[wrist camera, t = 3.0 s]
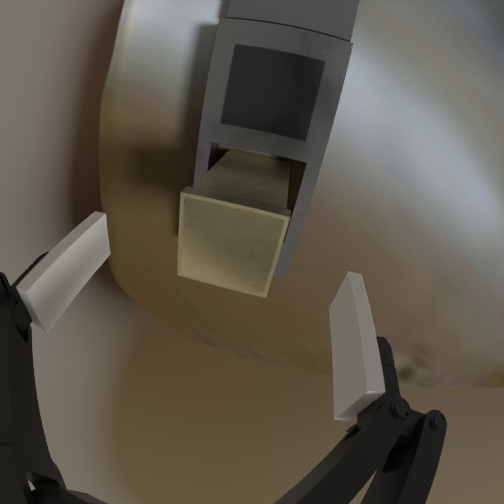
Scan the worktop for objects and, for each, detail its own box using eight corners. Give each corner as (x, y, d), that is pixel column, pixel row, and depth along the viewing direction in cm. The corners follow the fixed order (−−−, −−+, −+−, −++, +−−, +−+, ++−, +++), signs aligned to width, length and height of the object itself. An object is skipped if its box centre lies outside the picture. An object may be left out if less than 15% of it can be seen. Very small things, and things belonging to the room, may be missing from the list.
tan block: (228, 146, 21) (180, 192, 13) (293, 161, 21) (290, 217, 13) (219, 204, 24) (177, 274, 16) (278, 218, 24) (265, 297, 16)
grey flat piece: (228, 24, 15) (219, 17, 13) (346, 48, 15) (353, 43, 13) (196, 239, 27) (187, 254, 24) (286, 261, 26) (284, 278, 24)
